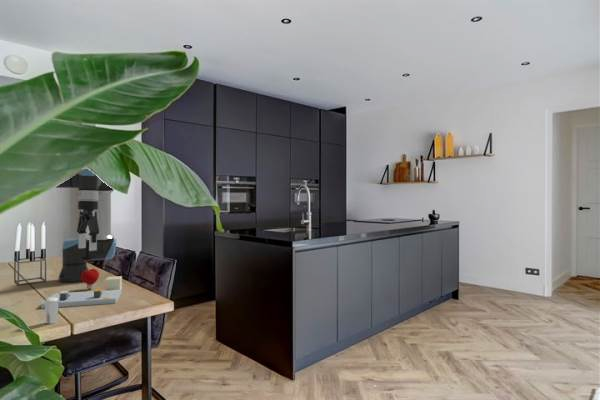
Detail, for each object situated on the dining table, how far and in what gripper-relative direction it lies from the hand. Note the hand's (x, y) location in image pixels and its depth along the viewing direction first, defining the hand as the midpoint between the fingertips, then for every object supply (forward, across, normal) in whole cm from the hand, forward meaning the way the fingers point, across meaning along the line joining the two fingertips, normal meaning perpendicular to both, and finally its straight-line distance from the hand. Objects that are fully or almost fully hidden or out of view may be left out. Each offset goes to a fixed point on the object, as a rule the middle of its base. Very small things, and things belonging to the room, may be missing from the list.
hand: (87, 249), depth 156 cm
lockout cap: (+23, -15, +17) cm, 32 cm away
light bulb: (+23, -28, +10) cm, 37 cm away
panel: (+24, -8, +2) cm, 25 cm away
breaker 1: (+22, -8, -6) cm, 24 cm away
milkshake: (+25, +16, -16) cm, 34 cm away
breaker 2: (+22, -2, +5) cm, 22 cm away
